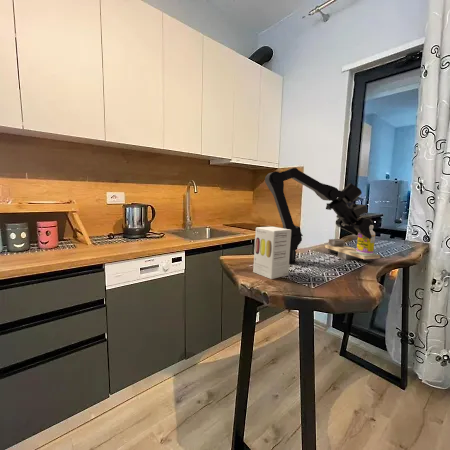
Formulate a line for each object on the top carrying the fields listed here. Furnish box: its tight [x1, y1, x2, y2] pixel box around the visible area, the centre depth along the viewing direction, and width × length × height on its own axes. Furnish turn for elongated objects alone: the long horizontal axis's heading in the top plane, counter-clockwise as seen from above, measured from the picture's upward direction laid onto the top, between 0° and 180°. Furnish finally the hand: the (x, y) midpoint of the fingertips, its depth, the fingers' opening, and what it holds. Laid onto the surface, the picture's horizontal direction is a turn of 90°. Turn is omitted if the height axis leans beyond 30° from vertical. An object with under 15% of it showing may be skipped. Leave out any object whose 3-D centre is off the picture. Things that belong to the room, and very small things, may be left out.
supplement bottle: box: [356, 224, 376, 255], centre depth 113 cm, size 7×7×13 cm
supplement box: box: [252, 226, 291, 280], centre depth 92 cm, size 10×9×17 cm
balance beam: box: [324, 238, 381, 261], centre depth 121 cm, size 24×10×7 cm, turn 19°
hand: (363, 236), depth 113 cm, fingers open, 9 cm apart
